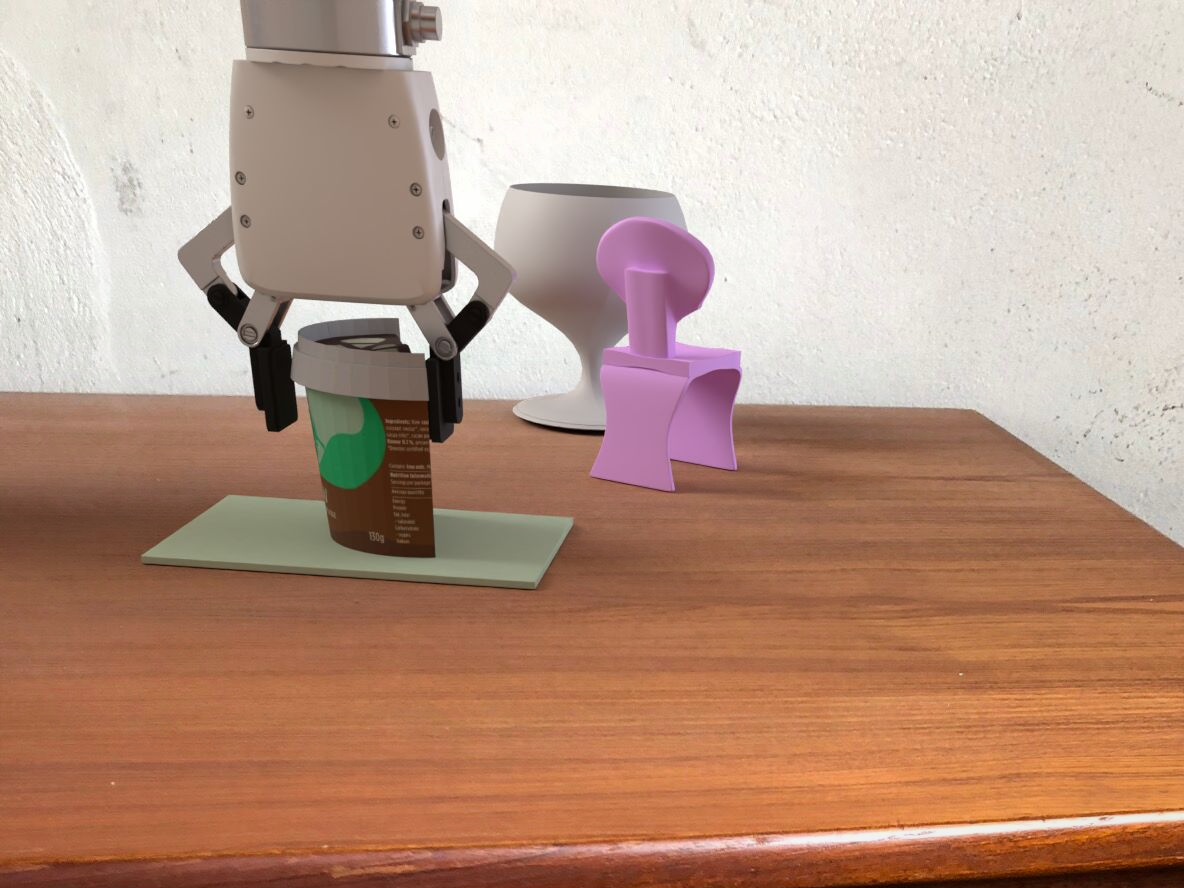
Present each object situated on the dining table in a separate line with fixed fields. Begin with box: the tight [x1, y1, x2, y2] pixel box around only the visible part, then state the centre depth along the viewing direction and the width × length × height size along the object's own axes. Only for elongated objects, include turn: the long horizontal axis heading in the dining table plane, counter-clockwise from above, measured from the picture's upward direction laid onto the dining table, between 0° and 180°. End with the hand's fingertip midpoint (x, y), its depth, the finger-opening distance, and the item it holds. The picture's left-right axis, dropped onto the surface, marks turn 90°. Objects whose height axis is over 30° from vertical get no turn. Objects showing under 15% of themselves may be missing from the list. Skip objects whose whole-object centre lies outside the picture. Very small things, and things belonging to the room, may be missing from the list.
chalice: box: [493, 182, 689, 432], centre depth 109 cm, size 14×14×15 cm
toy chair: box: [589, 217, 743, 492], centre depth 95 cm, size 8×9×15 cm
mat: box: [140, 494, 574, 590], centre depth 81 cm, size 20×13×1 cm, turn 88°
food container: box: [290, 317, 436, 558], centre depth 79 cm, size 12×6×10 cm, turn 18°
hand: (362, 430), depth 78 cm, fingers open, 7 cm apart
